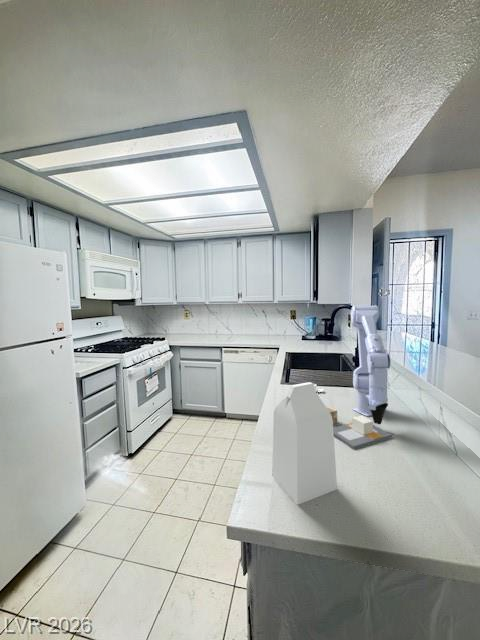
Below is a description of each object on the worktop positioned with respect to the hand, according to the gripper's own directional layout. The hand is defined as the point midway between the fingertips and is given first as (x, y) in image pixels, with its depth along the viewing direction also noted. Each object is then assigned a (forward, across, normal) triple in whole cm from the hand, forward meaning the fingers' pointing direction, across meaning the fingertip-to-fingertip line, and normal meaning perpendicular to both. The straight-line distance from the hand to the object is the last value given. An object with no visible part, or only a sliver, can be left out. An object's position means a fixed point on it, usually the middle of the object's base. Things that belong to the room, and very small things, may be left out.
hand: (377, 423), depth 95 cm
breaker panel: (+2, +8, -4) cm, 9 cm away
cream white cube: (+1, +6, -3) cm, 7 cm away
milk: (+3, +41, -7) cm, 42 cm away
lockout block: (+2, +5, -16) cm, 17 cm away
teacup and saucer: (+3, -20, -33) cm, 39 cm away
